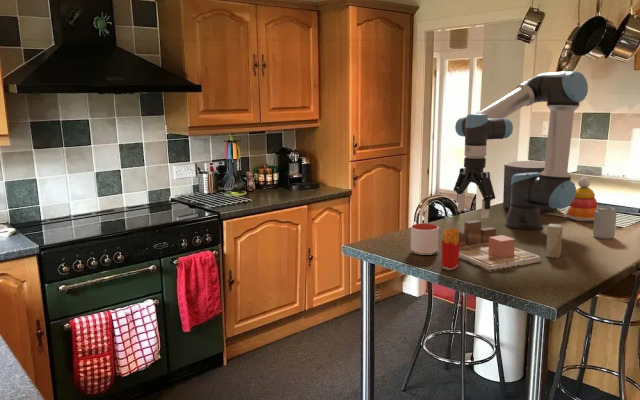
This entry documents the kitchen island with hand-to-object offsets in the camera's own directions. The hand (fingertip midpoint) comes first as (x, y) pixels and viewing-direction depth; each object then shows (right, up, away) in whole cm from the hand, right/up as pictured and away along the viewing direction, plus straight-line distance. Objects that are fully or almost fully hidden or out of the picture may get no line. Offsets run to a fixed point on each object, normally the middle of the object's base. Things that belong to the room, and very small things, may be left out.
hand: (472, 214), depth 191 cm
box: (+27, -15, -7) cm, 31 cm away
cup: (-18, -14, 0) cm, 23 cm away
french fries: (-12, -18, -16) cm, 27 cm away
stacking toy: (+63, -4, +43) cm, 76 cm away
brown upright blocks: (+4, -14, -6) cm, 16 cm away
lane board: (+5, -15, -7) cm, 17 cm away
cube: (+7, -14, -11) cm, 19 cm away
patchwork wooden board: (+4, -14, -6) cm, 16 cm away
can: (+56, -10, +13) cm, 58 cm away
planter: (+49, +1, +68) cm, 83 cm away
